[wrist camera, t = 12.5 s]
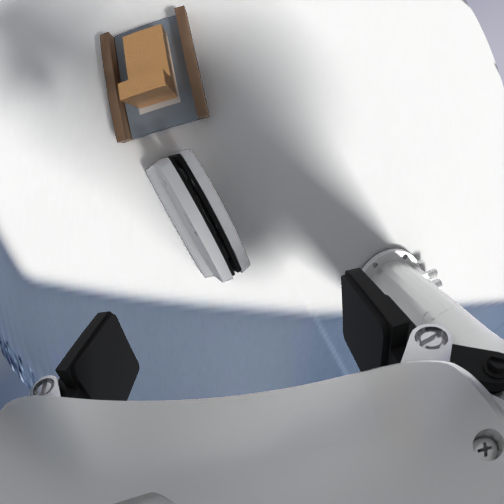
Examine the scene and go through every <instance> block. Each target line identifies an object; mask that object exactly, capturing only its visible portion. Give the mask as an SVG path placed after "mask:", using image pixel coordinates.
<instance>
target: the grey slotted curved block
mask: <svg viewBox="0 0 504 504" xmlns="http://www.w3.org/2000/svg"><path fill="white" fill-rule="evenodd" d="M146 173H147V175H148V177H149V179H150V181H151V183H152V185H153V187H154V189H155V190H156V192H157V194H158V196H159V198H160V200H161V202H162V204H163V205H164V207H165V209H166V211H167V213H168V215H169V216H170V218H171V220H172V222H173V224H174V225H175V227H176V229H177V231H178V233H179V234H180V236H181V238H182V240H183V242H184V243H185V245H186V247H187V249H188V250H189V252H190V254H191V255H192V257H193V259H194V261H195V262H196V264H197V266H198V267H199V269H200V271H201V273H202V274H203V276H204V277H205V278H207V277H212V276H215V277H216V278H218V279H219V280H220V281H222V282H226V281H228V280H231V279H233V277H232V276H233V275H235V273H234V271H236V272H244V271H245V270H246V269H247V268H248V267H249V266H250V262H249V259H248V257H247V254H246V252H245V249H244V247H243V245H242V242H241V240H240V238H239V236H238V234H237V231H236V229H235V227H234V225H233V223H232V221H231V219H230V217H229V215H228V213H227V211H226V209H225V207H224V205H223V203H222V201H221V199H220V197H219V196H218V194H217V192H216V190H215V188H214V187H213V185H212V183H211V181H210V179H209V178H208V176H207V174H206V172H205V171H204V169H203V167H202V166H201V164H200V162H199V161H198V159H197V158H196V156H195V154H194V153H193V151H192V150H191V149H186V150H181V151H177V152H174V153H170V156H169V157H168V158H161V159H159V160H158V161H157V162H155V163H154V164H153V165H152V166H150V167H149V168H148V169H147V170H146ZM233 270H234V271H233Z"/></svg>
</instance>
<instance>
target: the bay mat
mask: <svg viewBox="0 0 504 504" xmlns="http://www.w3.org/2000/svg"><path fill="white" fill-rule="evenodd" d="M159 24H162V26H163V28H164V29H165V31H166V34H167V40H168V46H169V52H170V57H171V63H172V68H173V74H174V79H175V84H176V89H177V94H178V97H177V98H174V99H170V100H167V101H163V102H160V103H157V104H154V105H150V106H147V107H144V108H141V109H139V108H137V107H135V106H132V105H130V104H127V103H125V106H126V111H127V116H128V121H129V126H130V130H131V135H132V139H136V138H139V137H142V136H145V135H148V134H151V133H154V132H157V131H160V130H163V129H166V128H170V127H173V126H176V125H180V124H183V123H187V122H191V121H194V120H198V119H199V118H198V116H197V112H196V107H195V103H194V98H193V94H192V89H191V85H190V80H189V76H188V71H187V66H186V62H185V57H184V52H183V47H182V43H181V38H180V33H179V28H178V23H177V18H176V15H175V16H172V17H168V18H165V19H162V20H159V21H155V22H152V23H149V24H146V25H144V26H141V27H138V28H135V29H133V30H130V31H127V32H125V33H122V34H120V35H117V36H115V44H116V52H117V59H118V66H119V72H120V79H121V82H124V81H127V80H128V75H127V68H126V61H125V53H124V45H123V37H124V36H127V35H129V34H132V33H135V32H138V31H140V30H143V29H146V28H149V27H152V26H156V25H159Z"/></svg>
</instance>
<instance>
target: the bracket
mask: <svg viewBox="0 0 504 504" xmlns="http://www.w3.org/2000/svg"><path fill="white" fill-rule="evenodd" d="M123 45H124V53H125V61H126V68H127V75H128V80H127V81H124V82H121V83H119V84H118V90H119V96H120V101H123V102H125V103H127V104H130V105H132V106H135V107H137V108H139V109H141V108H144V107H147V106H150V105H154V104H157V103H160V102H163V101H167V100H170V99H174V98H177V97H178V94H177V89H176V84H175V79H174V74H173V68H172V63H171V57H170V52H169V46H168V40H167V34H166V31H165V29H164V28H163V26H162V24H159V25H156V26H152V27H149V28H146V29H143V30H140V31H138V32H135V33H132V34H129V35H127V36H124V37H123Z"/></svg>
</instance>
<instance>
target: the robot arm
mask: <svg viewBox="0 0 504 504" xmlns="http://www.w3.org/2000/svg"><path fill="white" fill-rule="evenodd" d="M436 276H437V270H436V269H432V270H429V271H427V272H425V271H423V270H422V269H420V266H419V263H418V261H417V260H416V258H415V257H414V256H413V255H412V254H410V253H409V252H407V251H405V250H403V249H398V248H396V249H388V250H384V251H382V252H380V253H378V254H377V255H375V256H374V257H372V258H371V259H370V260H369V261H368V262H367V263H366V264H365V265H364V267H363V268H362V269H361V268H356V269H352V270H347V271H346V272H345V275H342V276H341V285H342V306H343V334H344V338H345V341H346V343H347V345H348V347H349V349H350V351H351V353H352V355H353V357H354V359H355V361H356V363H357V365H358V367H359V369H360V371H361V372H358V373H354V374H350V375H345V376H341V377H337V378H333V379H328V380H324V381H320V382H315V383H310V384H305V385H300V386H295V387H290V388H284V389H278V390H272V391H266V392H259V393H252V394H244V395H236V396H227V397H217V398H205V399H190V400H169V401H127V399H128V396H129V394H130V391H131V389H132V386H133V384H134V381H135V379H136V377H137V374H138V372H139V363H138V361H137V359H136V357H135V355H134V353H133V351H132V349H131V347H130V345H129V343H128V341H127V339H126V336H125V334H124V332H123V330H122V328H121V326H120V323H119V321H118V319H117V317H116V315H114V314H112V313H111V312H110V311H109V312H101V313H98V314H97V315H96V316H95V317H94V319H93V320H92V321H91V322H90V324H89V325H88V326H87V328H86V329H85V330H84V331H83V333H82V334H81V335H80V337H79V338H78V339H77V341H76V342H75V343H74V345H73V346H72V347H71V349H70V350H69V352H68V353H67V354H66V356H65V357H64V358H63V360H62V361H61V363H60V364H59V365H58V367H57V368H56V370H55V371H56V372H57V374H58V375H59V377H60V379H59V380H57V378H56V377H54V376H45V377H42V378H41V379H39V380H38V381H36V382H35V383H34V385H33V386H32V388H31V390H30V396H26V397H21V398H18V399H15V400H12V401H10V402H9V403H7V404H6V405H5V406H4V407H3V409H2V410H1V411H0V504H504V340H503V339H501V338H500V337H499V336H497V335H496V334H494V333H493V332H492V331H490V330H489V329H488V328H487V327H485V326H484V325H483V324H482V323H480V322H479V321H478V320H477V319H475V318H474V317H473V316H472V315H471V314H470V313H468V312H467V311H466V310H465V309H464V308H463V307H461V306H460V305H459V304H458V303H457V302H455V301H454V300H453V299H452V298H451V297H449V296H448V295H447V294H446V293H445V292H443V291H442V290H441V289H442V283H441V280H440V279H436V280H433V281H430V280H428V279H432V278H434V277H436Z"/></svg>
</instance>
